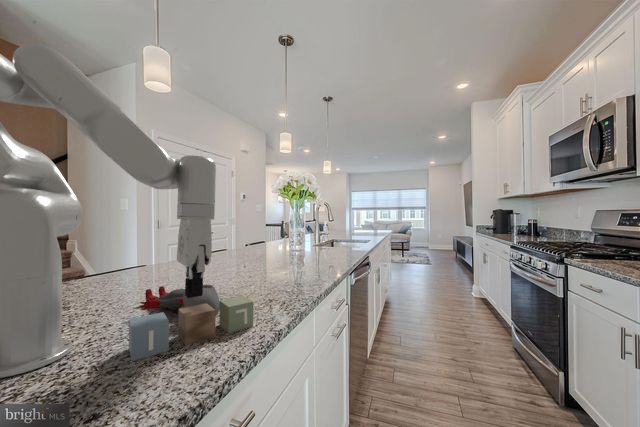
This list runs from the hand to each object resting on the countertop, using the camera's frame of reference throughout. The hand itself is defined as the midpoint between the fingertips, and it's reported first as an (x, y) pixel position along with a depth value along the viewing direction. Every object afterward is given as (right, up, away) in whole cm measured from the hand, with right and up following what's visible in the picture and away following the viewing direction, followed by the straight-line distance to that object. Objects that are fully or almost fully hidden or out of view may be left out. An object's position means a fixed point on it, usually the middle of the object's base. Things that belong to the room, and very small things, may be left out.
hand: (193, 295), depth 59 cm
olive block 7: (+8, -9, +6) cm, 13 cm away
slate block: (-6, -9, -6) cm, 12 cm away
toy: (-11, -10, +15) cm, 21 cm away
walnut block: (+1, -9, 0) cm, 9 cm away
